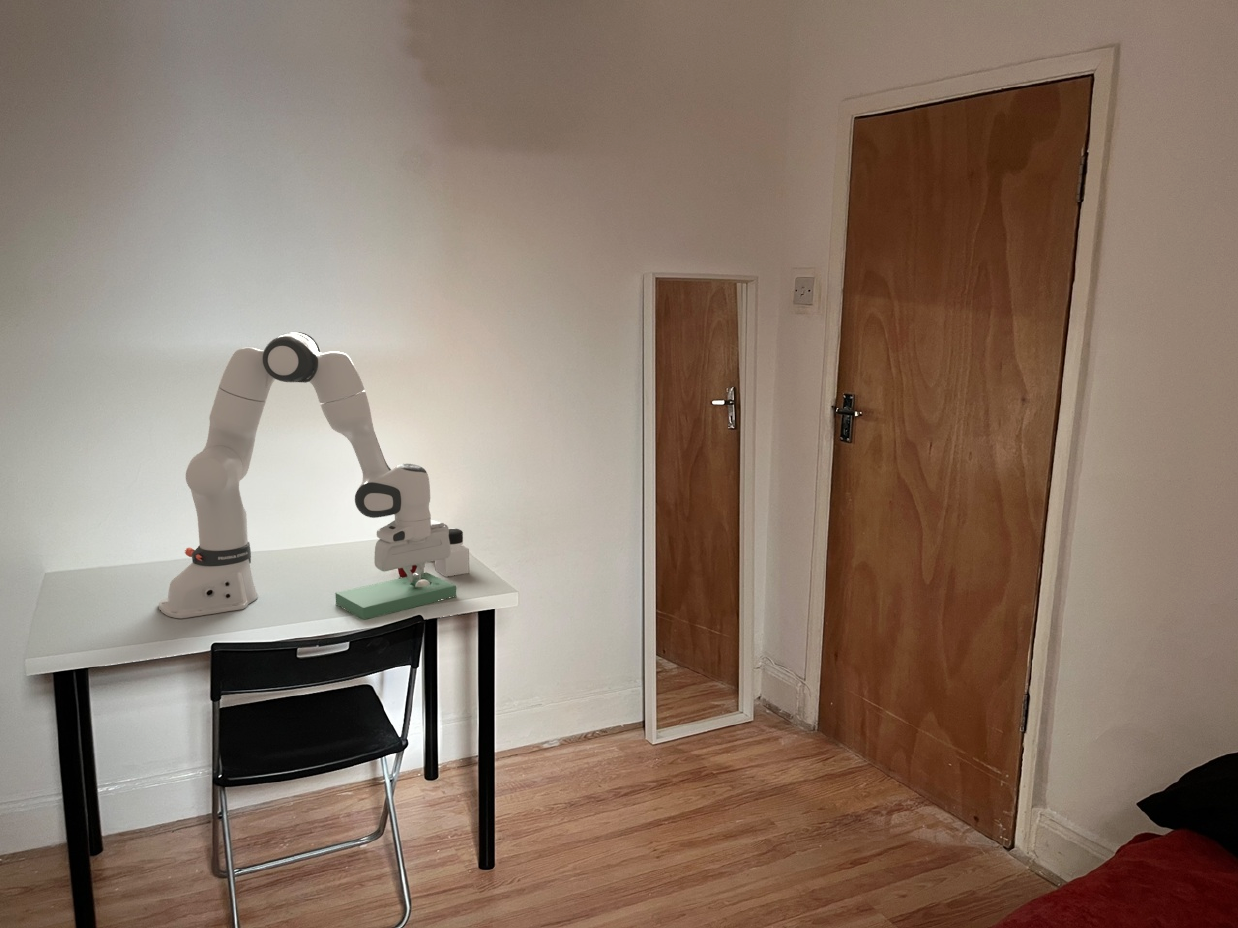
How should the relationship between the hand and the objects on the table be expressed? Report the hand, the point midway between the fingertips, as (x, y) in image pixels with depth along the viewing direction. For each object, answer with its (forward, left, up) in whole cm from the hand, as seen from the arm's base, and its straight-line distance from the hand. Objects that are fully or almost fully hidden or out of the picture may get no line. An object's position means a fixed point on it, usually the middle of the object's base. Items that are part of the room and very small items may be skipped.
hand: (414, 580), depth 246 cm
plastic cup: (+8, +15, -4) cm, 18 cm away
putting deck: (-5, 0, -4) cm, 6 cm away
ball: (+2, 0, -2) cm, 3 cm away
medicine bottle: (+19, +11, -4) cm, 22 cm away
